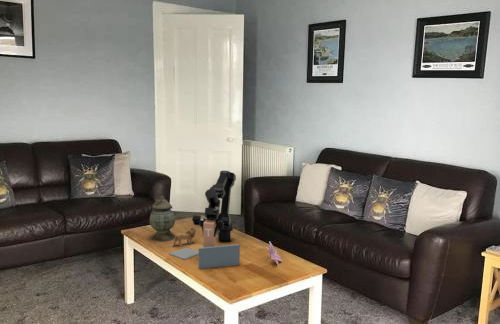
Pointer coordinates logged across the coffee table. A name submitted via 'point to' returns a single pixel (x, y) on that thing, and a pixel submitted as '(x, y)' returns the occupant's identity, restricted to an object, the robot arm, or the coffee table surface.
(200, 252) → the screen
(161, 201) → the lidded urn
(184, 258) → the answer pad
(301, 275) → the coffee table surface
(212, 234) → the salmon pink tall block
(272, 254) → the lily
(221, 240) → the robot arm
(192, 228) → the lion figurine
